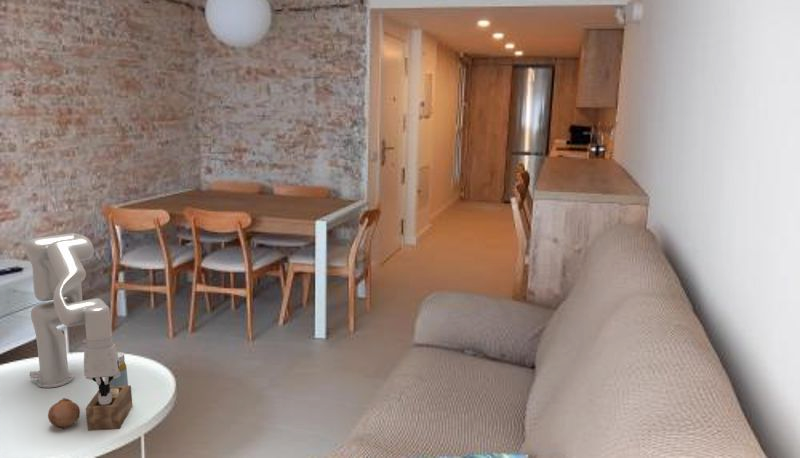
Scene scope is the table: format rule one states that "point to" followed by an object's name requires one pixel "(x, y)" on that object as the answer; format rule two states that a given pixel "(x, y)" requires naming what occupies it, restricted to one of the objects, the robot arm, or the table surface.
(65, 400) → the onion
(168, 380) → the table surface
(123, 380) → the bottle
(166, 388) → the table surface
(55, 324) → the robot arm
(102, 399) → the peg metal
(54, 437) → the table surface
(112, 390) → the peg birch
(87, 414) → the socket block
